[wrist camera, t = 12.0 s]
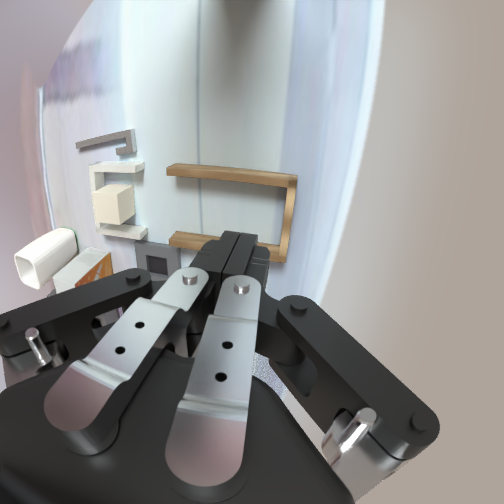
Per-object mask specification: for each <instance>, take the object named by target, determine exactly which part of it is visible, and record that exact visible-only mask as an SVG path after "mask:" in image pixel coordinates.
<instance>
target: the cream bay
mask: <svg viewBox="0 0 504 504" xmlns="http://www.w3.org/2000/svg"><path fill="white" fill-rule="evenodd" d="M143 169H144V162H96V163H94V164H91V165H89V173H90V184H91V194H92V193H93V192H95V191H96V190H98V189H100V188H102V187H104V186H105V178H104V172H122V173H137V172H139V171H141V170H143ZM92 203H93V194H92ZM93 211H94V203H93ZM94 218H95V211H94ZM95 225H96V232H97V233H98V234H105V235H111V236H118V237H124V238H131V239H137V240H141V239H142V238H143V237H144V236H145V235H146V234H147V233H148V230H147V227H142V226H135V225H127V224H121V225H116V224H108V223H100V222H96V218H95Z"/></svg>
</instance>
